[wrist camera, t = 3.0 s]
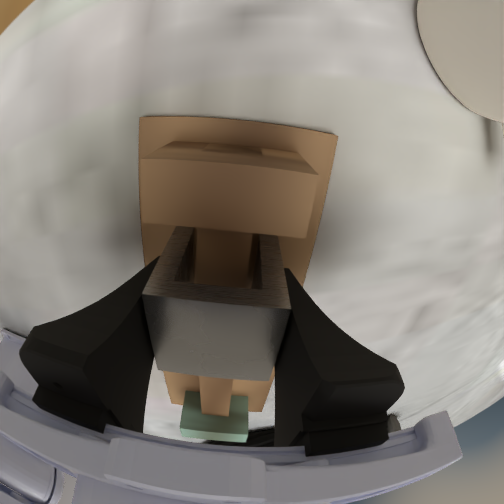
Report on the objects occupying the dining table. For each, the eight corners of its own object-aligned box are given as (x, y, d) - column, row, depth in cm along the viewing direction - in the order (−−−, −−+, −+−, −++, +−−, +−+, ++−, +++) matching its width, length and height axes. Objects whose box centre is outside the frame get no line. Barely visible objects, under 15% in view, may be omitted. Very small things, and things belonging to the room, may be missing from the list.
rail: (172, 397, 21) (165, 436, 17) (144, 116, 10) (96, 126, 6) (261, 406, 21) (262, 446, 18) (333, 134, 10) (374, 152, 7)
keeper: (178, 296, 13) (158, 369, 9) (176, 225, 11) (141, 293, 7) (264, 305, 14) (268, 381, 10) (277, 235, 12) (291, 309, 8)
